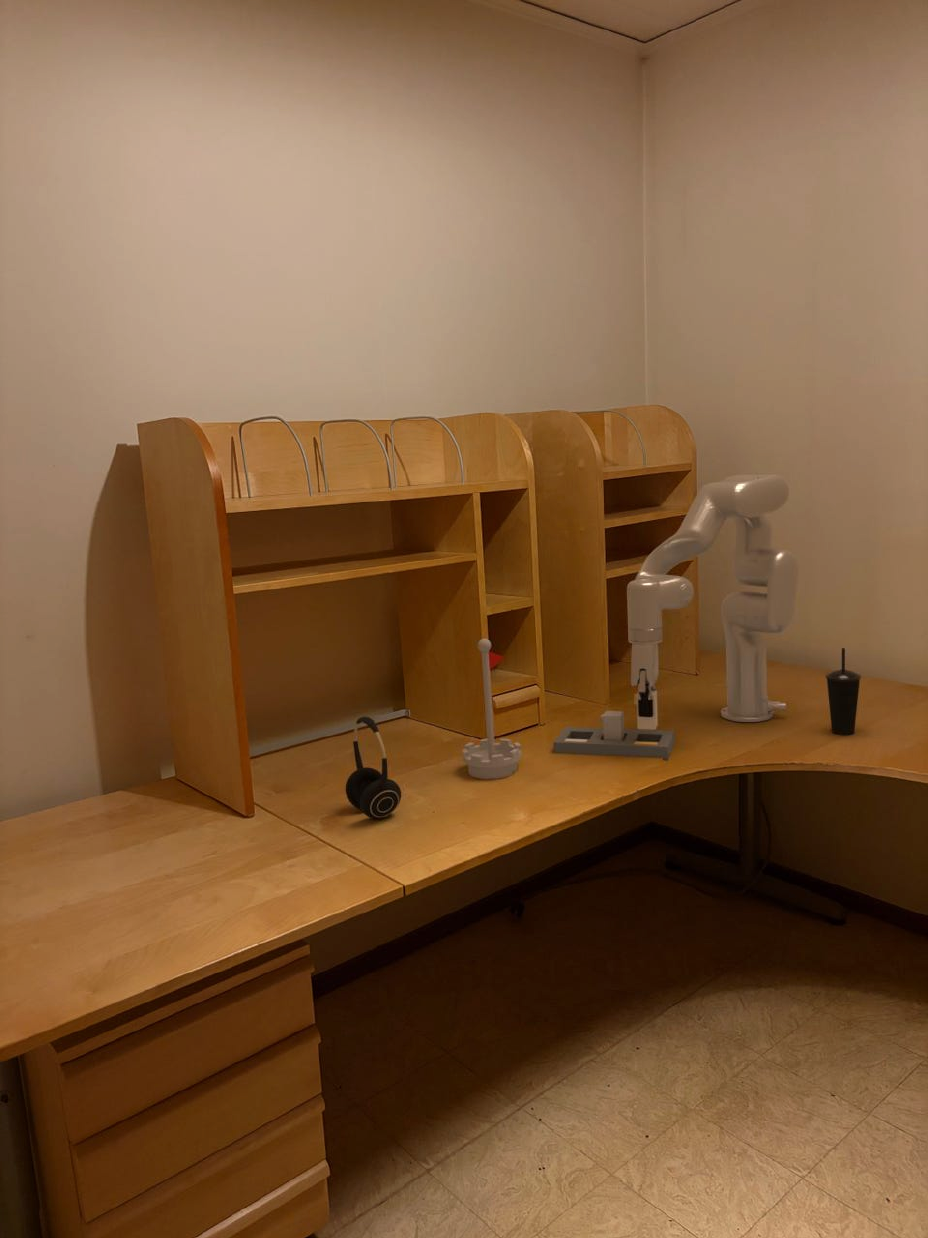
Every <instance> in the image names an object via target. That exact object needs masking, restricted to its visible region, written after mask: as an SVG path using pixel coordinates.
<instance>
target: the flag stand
mask: <svg viewBox="0 0 928 1238" xmlns="http://www.w3.org/2000/svg"><path fill="white" fill-rule="evenodd" d="M477 648H478V649H479V651H480V652H481V662H482V663H481V664H482V677H483V693H484V694H483V695H484V705H485V710H484V711H485V722H486V725H485V726H486V738H483V739H479V744H478V745H475V743H474V742H472V741H471V742H469V743H466V744H464V748H462V750H461V753H462V754H461V755H462V761H463V762H464V763H465V764H466V765H467V771H468V775H470V776H472V777H474V778H478V779H482V780H483V779H484V780H493V779H502V778H507V777H510V776H512V775H514V774H515V773H516V772H515V771H516V770H517V769H518V762H519V760H521V758H522V745H521V744H520V742H514V743H512V739H509V738H500V740H499V742H495V732H494V729H495V728H494V715H493V699H492V686H491V685H492V683H491V671H492V669H493V668H494V667H496V666H497V665H498V664H499V663H500V662H502V661H503V660H504V659H506V657H504V656H502V655H500V654H497V653H494V652H492V651H490V650H491V649H492V642H491V641H490V640H489V639H487V638H482V639H480V640H479V641H478V642H477Z"/></svg>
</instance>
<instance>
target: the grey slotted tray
mask: <svg viewBox="0 0 928 1238" xmlns="http://www.w3.org/2000/svg"><path fill="white" fill-rule="evenodd" d="M624 717H625V716H624V711H616V710H615V711H614V710H605V712H604V713H602V714H601V716H600V726H602V727H582V726H581V727H577V726H574V727H573V726H564V728H563V729H562V730H561V732H560V733H559V734H558V735H557V737H556V738H555V739H554V740H553V742H552V743H553V744H552V745H553V754H571V755H591V756H592V755H594V756H595V755H596V756H611V757H612V756H615V757H632V758H633V757H636V758H657V759H659V758H660V759H662V761H669V759H670V757H671V753H672V751H673V749H674V746H675V744H674V743H675V741H676V738H675V730H668V729H667V730H663V729H661V730H659V729H655V730H650V729H638V728H637V729H635V728H633V729H632V728H625V720H624Z"/></svg>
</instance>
